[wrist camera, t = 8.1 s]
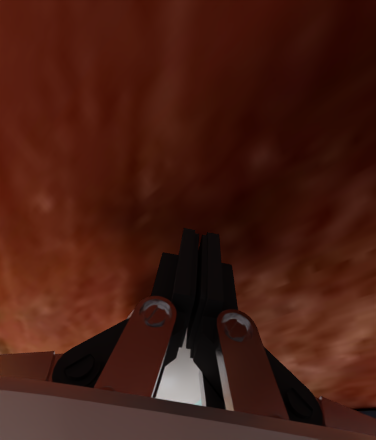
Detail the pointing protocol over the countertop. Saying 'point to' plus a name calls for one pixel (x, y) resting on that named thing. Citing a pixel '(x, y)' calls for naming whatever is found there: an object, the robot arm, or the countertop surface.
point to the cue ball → (180, 378)
